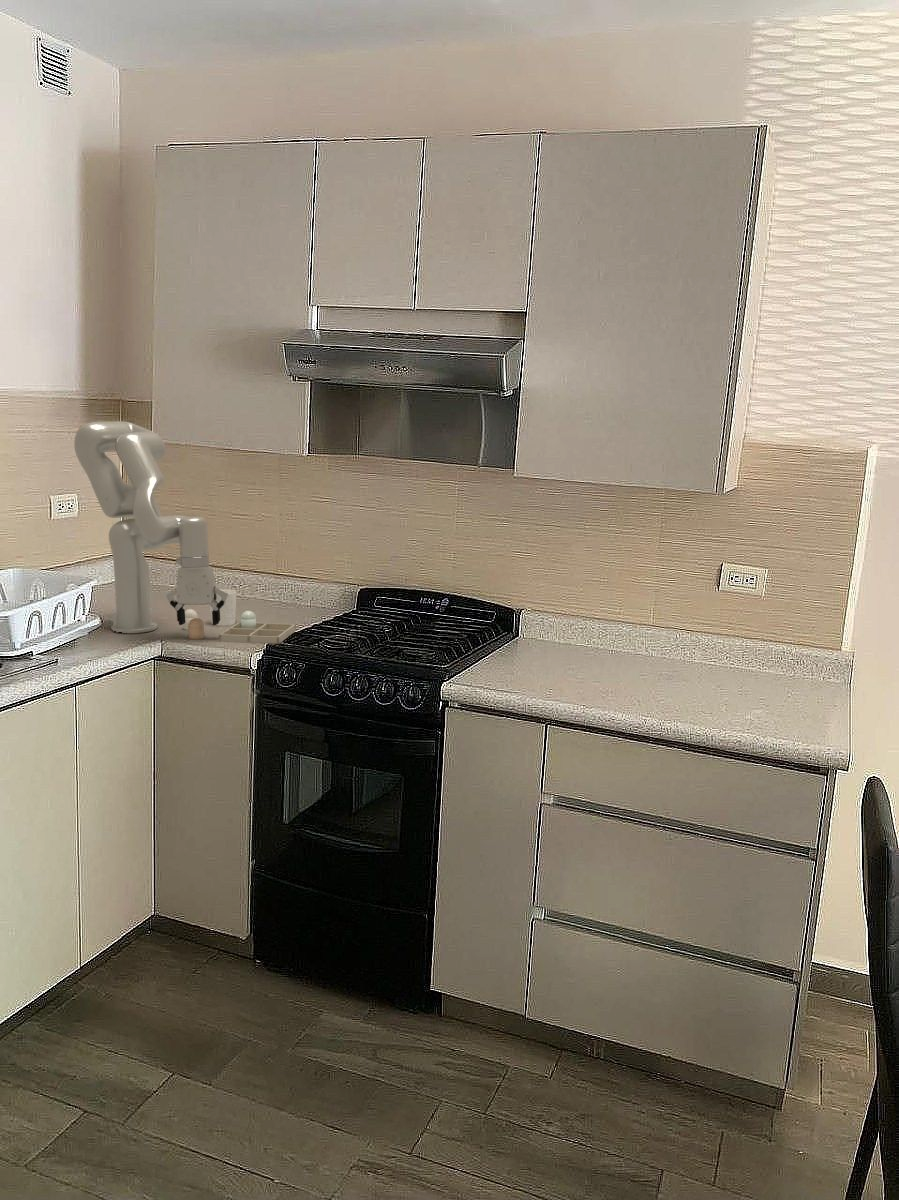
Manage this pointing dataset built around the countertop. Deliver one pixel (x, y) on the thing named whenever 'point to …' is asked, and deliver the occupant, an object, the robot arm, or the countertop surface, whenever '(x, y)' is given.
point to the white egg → (189, 617)
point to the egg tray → (258, 633)
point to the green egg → (248, 620)
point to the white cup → (227, 609)
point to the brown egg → (196, 628)
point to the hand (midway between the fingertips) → (199, 624)
